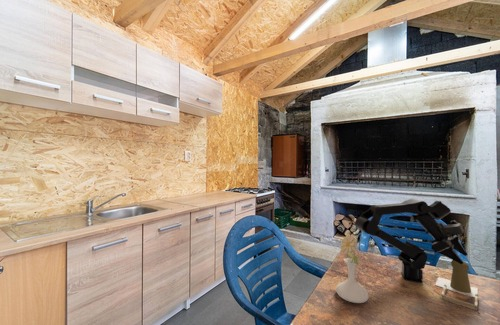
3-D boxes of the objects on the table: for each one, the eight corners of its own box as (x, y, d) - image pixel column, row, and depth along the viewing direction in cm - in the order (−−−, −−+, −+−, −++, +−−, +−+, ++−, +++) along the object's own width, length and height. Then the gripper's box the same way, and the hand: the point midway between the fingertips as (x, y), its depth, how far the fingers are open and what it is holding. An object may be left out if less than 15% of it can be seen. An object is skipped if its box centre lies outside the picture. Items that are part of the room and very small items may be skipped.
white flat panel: (477, 298, 79) (477, 298, 79) (435, 285, 88) (435, 284, 88) (477, 289, 85) (477, 288, 85) (438, 277, 94) (438, 276, 94)
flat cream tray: (477, 310, 73) (477, 305, 73) (441, 298, 80) (441, 294, 80) (477, 299, 79) (477, 294, 79) (444, 288, 86) (444, 284, 86)
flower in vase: (334, 286, 89) (333, 226, 89) (364, 290, 85) (363, 228, 86) (338, 306, 76) (337, 237, 76) (374, 312, 73) (372, 239, 73)
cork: (473, 294, 81) (473, 265, 81) (452, 289, 84) (451, 262, 84) (468, 286, 86) (467, 259, 86) (448, 282, 89) (447, 256, 90)
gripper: (443, 221, 82) (483, 260, 74) (453, 210, 93) (489, 243, 86) (417, 234, 89) (451, 271, 81) (429, 223, 100) (461, 254, 93)
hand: (464, 259), depth 85 cm, fingers open, 9 cm apart
